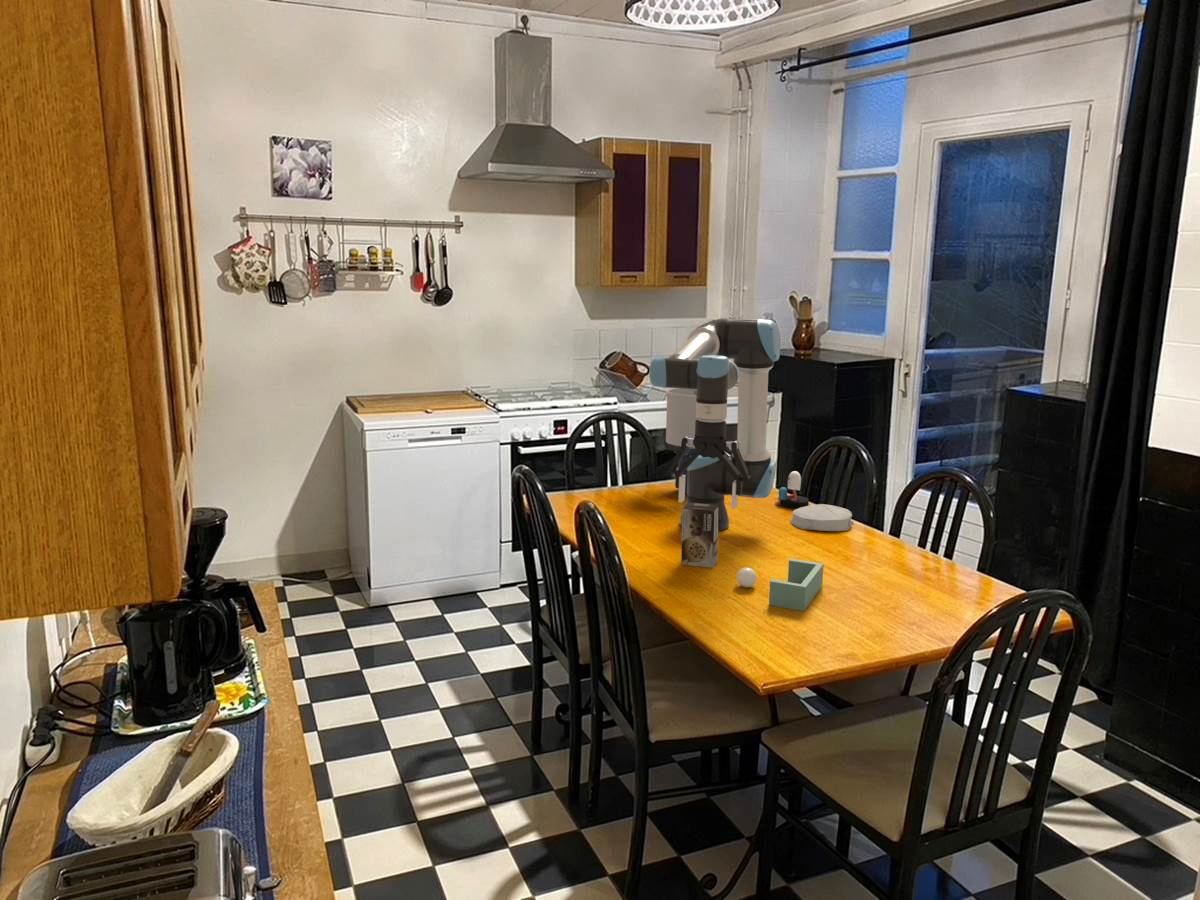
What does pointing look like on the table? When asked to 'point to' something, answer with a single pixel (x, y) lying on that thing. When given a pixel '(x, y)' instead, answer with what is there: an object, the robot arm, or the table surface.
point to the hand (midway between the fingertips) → (707, 504)
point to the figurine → (793, 500)
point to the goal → (797, 585)
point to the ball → (746, 577)
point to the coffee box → (700, 534)
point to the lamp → (681, 420)
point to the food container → (822, 518)
